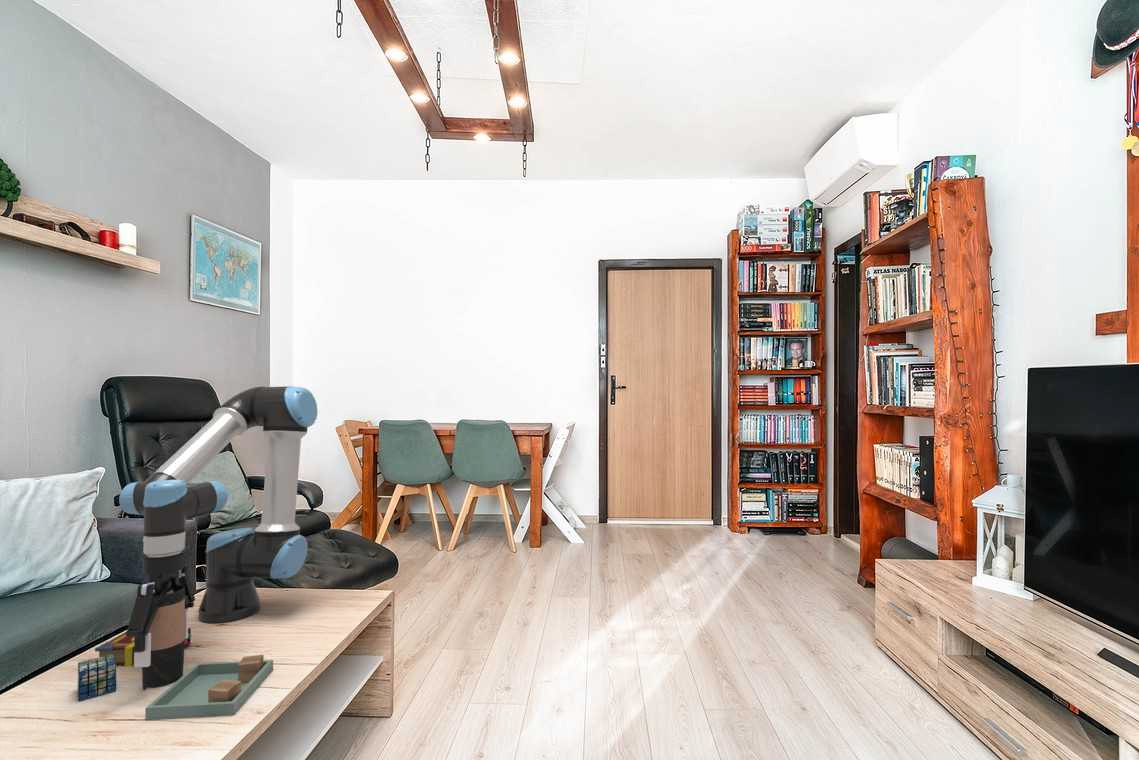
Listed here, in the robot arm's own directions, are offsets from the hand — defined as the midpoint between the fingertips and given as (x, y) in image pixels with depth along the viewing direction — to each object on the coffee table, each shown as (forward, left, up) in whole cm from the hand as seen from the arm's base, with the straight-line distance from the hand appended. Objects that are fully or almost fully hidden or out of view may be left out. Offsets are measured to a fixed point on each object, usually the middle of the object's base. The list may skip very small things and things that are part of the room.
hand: (162, 651), depth 124 cm
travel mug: (0, 0, -7) cm, 7 cm away
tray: (+7, +14, -7) cm, 17 cm away
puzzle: (+2, -12, -7) cm, 14 cm away
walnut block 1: (+12, +19, -6) cm, 23 cm away
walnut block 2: (+1, +19, -6) cm, 20 cm away
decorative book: (-15, -12, -7) cm, 20 cm away
